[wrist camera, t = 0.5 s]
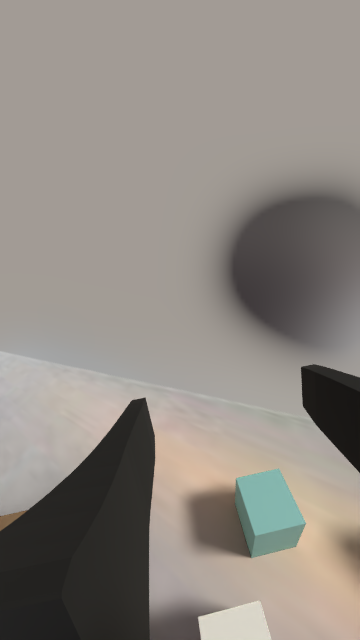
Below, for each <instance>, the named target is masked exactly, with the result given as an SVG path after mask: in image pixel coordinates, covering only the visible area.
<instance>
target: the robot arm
mask: <svg viewBox="0 0 360 640" xmlns="http://www.w3.org/2000/svg"><path fill="white" fill-rule="evenodd" d="M301 375H302V397H303V407H304V408H305V410H306V411H307V413H308V414H309V415H310V417H311V418H312V420H313V421H314V422H315V424H316V425H317V426H318V427H319V429H320V430H321V431H322V432H323V433H324V434H325V435H326V436H327V437H328V439H329V440H330V441H331V442H332V443H333V444H334V445H335V446H336V447H337V448H338V450H339V451H340V452H341V453H342V454H343V455H344V456H345V457H346V458H347V459H348V460H349V462H350V463H351V464H352V465H353V466H354V467H355V468H356V469H357V470H358V471H359V473H360V378H359V377H356V376H353V375H350V374H346V373H343V372H340V371H337V370H334V369H330V368H327V367H323V366H319V365H309V366H304V367H301ZM154 466H155V435H154V431H153V427H152V423H151V419H150V415H149V410H148V406H147V402H146V398H141V399H136V400H132V401H131V402H130V404H129V405H128V406H127V408H126V409H125V411H124V412H123V413H122V415H121V416H120V418H119V419H118V420H117V422H116V423H115V424H114V426H113V427H112V428H111V430H110V431H109V432H108V433H107V435H106V436H105V437H104V438H103V439H102V441H101V442H100V443H99V444H98V445H97V447H96V448H95V449H94V450H93V451H92V452H91V454H90V455H89V456H88V457H87V458H86V459H85V460H84V461H83V462H82V463H81V464H80V465H79V466H78V467H77V468H76V469H75V470H74V471H73V472H72V473H71V474H70V475H69V476H68V477H66V478H65V479H64V480H63V481H62V482H61V483H60V484H59V485H57V486H56V487H55V488H54V489H53V490H52V491H51V492H50V493H49V494H47V495H46V496H45V497H44V498H43V499H41V500H40V501H39V502H38V503H36V504H35V505H34V506H33V507H32V508H30V509H29V510H28V511H26V512H25V513H24V514H22V515H21V516H20V517H19V518H17V519H16V520H15V521H13V522H12V523H11V524H9V525H8V526H7V527H5V528H4V529H2V530H1V531H0V640H149V523H150V509H151V499H152V488H153V477H154Z"/></svg>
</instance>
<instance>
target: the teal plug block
mask: <svg viewBox="0 0 360 640" xmlns="http://www.w3.org/2000/svg"><path fill="white" fill-rule="evenodd" d="M235 505H236V508H237V512H238V515H239V518H240V522H241V525H242V528H243V532H244V535H245V538H246V542H247V545H248V548H249V552H250V555H251V558H253V557H257V556H261V555H265V554H269V553H273V552H277V551H281V550H285V549H289V548H293V547H296V545H297V543H298V541H299V538H300V536H301V534H302V531H303V529H304V527H305V524H306V523H305V521H304V518H303V516H302V514H301V512H300V510H299V508H298V506H297V504H296V502H295V500H294V498H293V496H292V494H291V492H290V490H289V488H288V486H287V484H286V482H285V480H284V478H283V476H282V474H281V472H280V470H279V469H275V470H271V471H266V472H262V473H257V474H253V475H248V476H244V477H239V478H236V492H235Z"/></svg>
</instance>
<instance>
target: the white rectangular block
mask: <svg viewBox="0 0 360 640" xmlns="http://www.w3.org/2000/svg"><path fill="white" fill-rule="evenodd" d="M198 620H199V627H200V635H201V640H271V636H270V633H269V629H268V626H267V623H266V619H265V616H264V612H263V609H262V605H261V602H260V601H256V602H252V603H248V604H245V605H241V606H237V607H234V608H230V609H226V610H222V611H219V612H215V613H211V614H207V615H204V616H200V617H198Z"/></svg>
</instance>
